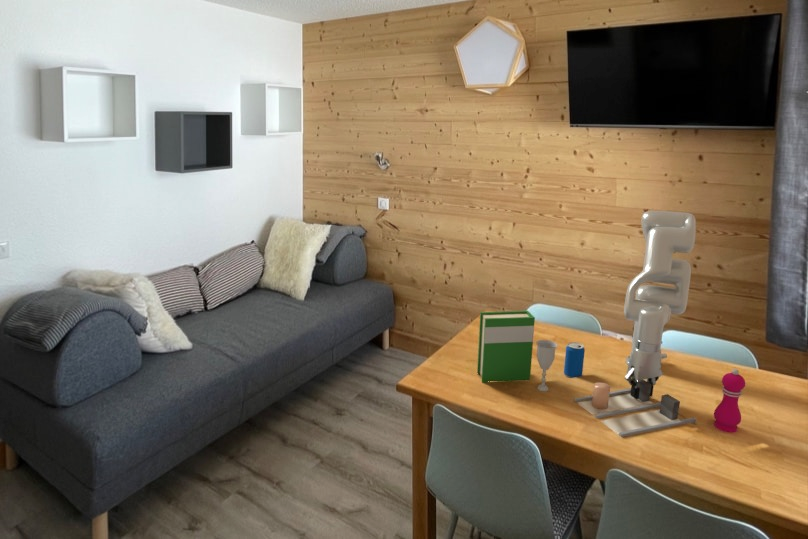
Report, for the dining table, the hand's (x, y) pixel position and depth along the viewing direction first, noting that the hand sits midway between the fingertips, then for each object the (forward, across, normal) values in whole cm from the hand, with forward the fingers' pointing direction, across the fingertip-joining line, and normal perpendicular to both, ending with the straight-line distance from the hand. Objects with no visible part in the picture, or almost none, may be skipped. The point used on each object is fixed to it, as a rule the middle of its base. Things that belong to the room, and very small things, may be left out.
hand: (641, 395), depth 184 cm
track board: (+2, +8, +6) cm, 11 cm away
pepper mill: (+3, -12, +22) cm, 25 cm away
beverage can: (+3, +10, -24) cm, 26 cm away
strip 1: (+2, +10, 0) cm, 11 cm away
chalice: (+3, +28, -16) cm, 32 cm away
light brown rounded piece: (+1, +16, 0) cm, 17 cm away
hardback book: (+3, +34, -31) cm, 46 cm away
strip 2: (+2, +10, +12) cm, 16 cm away
